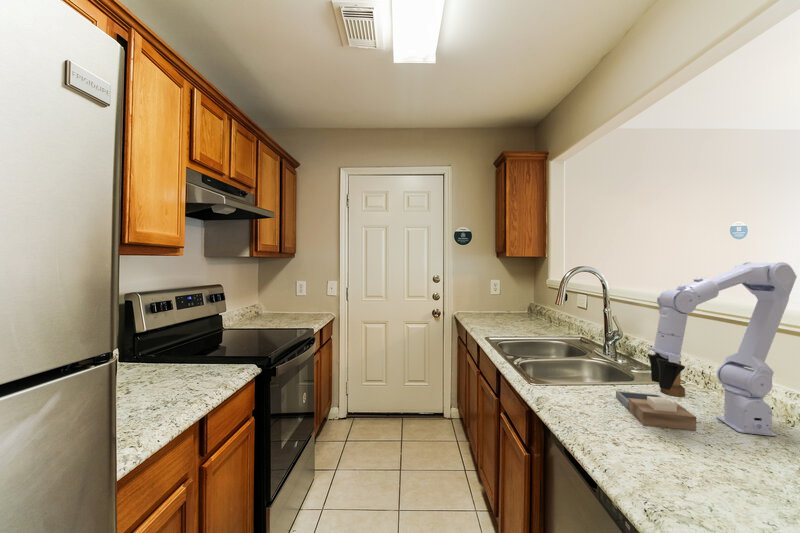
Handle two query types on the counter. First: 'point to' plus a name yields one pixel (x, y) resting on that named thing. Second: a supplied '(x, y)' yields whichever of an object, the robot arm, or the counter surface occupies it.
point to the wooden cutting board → (662, 416)
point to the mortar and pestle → (675, 388)
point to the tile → (661, 404)
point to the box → (625, 397)
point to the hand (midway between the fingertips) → (660, 385)
